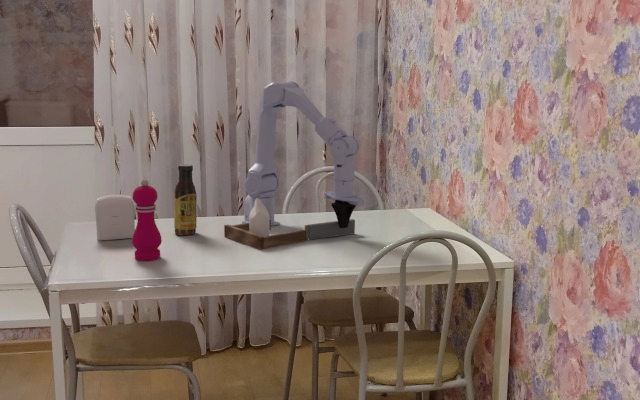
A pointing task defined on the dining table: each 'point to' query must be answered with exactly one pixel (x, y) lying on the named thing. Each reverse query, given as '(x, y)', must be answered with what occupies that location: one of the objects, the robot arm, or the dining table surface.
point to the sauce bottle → (185, 202)
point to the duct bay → (260, 242)
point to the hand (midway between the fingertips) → (343, 227)
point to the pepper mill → (146, 224)
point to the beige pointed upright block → (259, 219)
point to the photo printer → (114, 217)
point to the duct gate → (329, 229)
